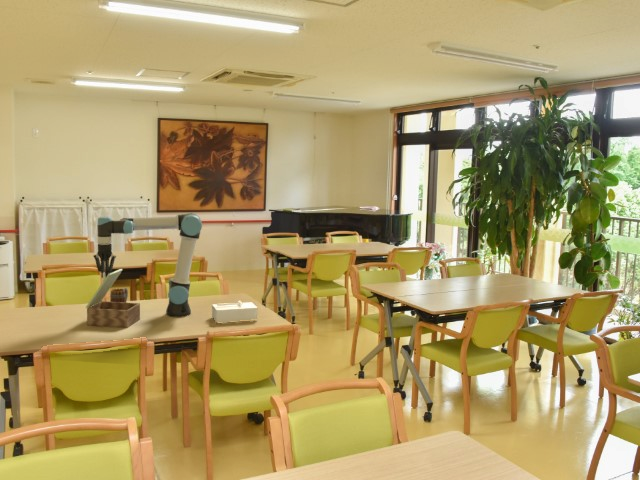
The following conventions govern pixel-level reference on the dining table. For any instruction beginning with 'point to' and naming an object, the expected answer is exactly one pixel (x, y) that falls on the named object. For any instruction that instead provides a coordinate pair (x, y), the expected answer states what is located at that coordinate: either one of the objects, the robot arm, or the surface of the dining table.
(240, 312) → the tissue box
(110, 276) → the lid
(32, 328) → the dining table surface
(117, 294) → the mug
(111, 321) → the box
